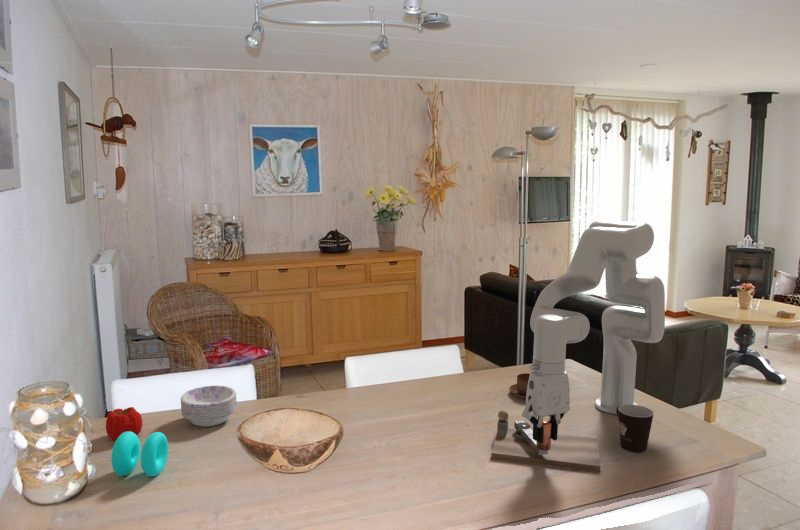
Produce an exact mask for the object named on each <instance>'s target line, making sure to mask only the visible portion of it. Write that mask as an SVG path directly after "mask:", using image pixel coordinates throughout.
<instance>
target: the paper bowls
mask: <svg viewBox="0 0 800 530" xmlns="http://www.w3.org/2000/svg"><path fill="white" fill-rule="evenodd" d="M237 401H238V400H237V392H236V390H235V389H234V388H233V387H231V386H227V385H226V386H225V385H206V386H205V385H204V386H200V387H195V388H192V389H190V390H188V391H185V392H184V393H183V394H182V395H181V397H180V408H181V409H180V411H181V416H182V418H184V419H186V420H189V421H190V423H191V424H193V425H194V426H196V427H205V428H206V427H214V426H217V425H220V424H223V423H224V422H226V421H227V420H228V419H229V418H230V415H232V414H233V413H234V412H235V411H237V408H238V404H237V403H238V402H237Z"/></svg>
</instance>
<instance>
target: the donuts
mask: <svg viewBox="0 0 800 530" xmlns="http://www.w3.org/2000/svg"><path fill="white" fill-rule="evenodd" d="M111 450H112V452H111V460H110V461H111V466H112V467H111V468H112V470H113V471H114V473H115V474H116V475H118V476H120V477H121V476H123V477H124V476H128V475H130V474H131V473H132V472H133V471H134V470H135V469H136V467H137V466H138V462H139V460H140V466H141V469H142V471H143V472H144V474H146V475H147V476H149V477H156V476H158V475H160V473H161V472H162V471H163V470H164V468H165V466H166V463H167V460H168V457H169V455H168V454H169V443H168V438H167V436H166V435H165V434H164V433H163V432H160V431H154V432H153V433H150V435H148V436H147V437H146V439H145V441H144V442H143V444H142V448H141V443H140V439H139V437H138V435H136V434H135V433H133V432H129V431H128V432H124V433H122V434H121V435H120V436H119V437H118V438H117V440H115V442H114V444H113V447H112V449H111Z"/></svg>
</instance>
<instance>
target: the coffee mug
mask: <svg viewBox="0 0 800 530" xmlns="http://www.w3.org/2000/svg"><path fill="white" fill-rule="evenodd" d="M616 413H617V415H616V417H617V420H618V426H619V427H618V428H619V444H620V445H619V446H620V448H621V449H623V450H625V451H627V452H630V453H634V454H635V453H636V454H637V453H639V454H640V453H645V452H646V451H647V450H648V449H647V448H648V443H649V439H650V434H651V428H652V423H653V420H654V413H655V412H654V411H653V410H652V409H650V408H648V407H646V406H643V405H639V404H637V405H622V406H618V407H617V410H616Z"/></svg>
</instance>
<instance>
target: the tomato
mask: <svg viewBox="0 0 800 530" xmlns="http://www.w3.org/2000/svg"><path fill="white" fill-rule="evenodd" d="M142 429H143V417H142V414H140V412H139V411H137V410H136V408H135V407H134V406H131V407H130V406H129V407H127V408H124V409H123V408H116V409H113V411H110V412H109V413H108V414H107V417H106V420H105V431H106V434H107V436H108V438H109V439H110V440H112V441H113V440H114V441H116V440H117V438H118V437H119V436H120V435H121V434H122V433H124V432H128V431H129V432H133V433H135V434H136V435H137V436H139V434H140V433H141V432H142Z"/></svg>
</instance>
